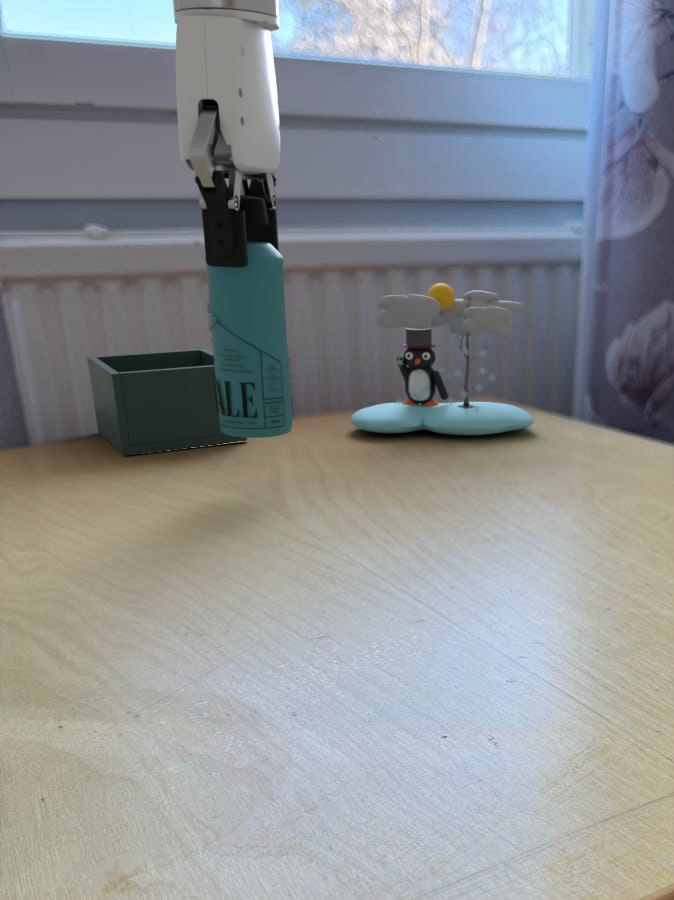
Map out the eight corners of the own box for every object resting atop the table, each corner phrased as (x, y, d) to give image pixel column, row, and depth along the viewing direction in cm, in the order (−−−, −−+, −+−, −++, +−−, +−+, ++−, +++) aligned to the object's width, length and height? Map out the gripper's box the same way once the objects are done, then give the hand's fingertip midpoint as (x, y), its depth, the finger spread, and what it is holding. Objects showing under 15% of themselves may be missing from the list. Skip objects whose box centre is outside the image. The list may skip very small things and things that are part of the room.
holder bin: (123, 456, 98) (111, 374, 95) (98, 432, 108) (86, 356, 105) (247, 442, 104) (240, 364, 101) (212, 420, 114) (205, 348, 111)
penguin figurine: (344, 439, 105) (336, 288, 99) (360, 418, 115) (354, 279, 109) (533, 442, 105) (537, 290, 98) (533, 421, 114) (537, 281, 108)
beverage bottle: (299, 439, 90) (287, 195, 81) (291, 456, 84) (277, 196, 75) (225, 438, 89) (206, 193, 81) (212, 456, 83) (189, 193, 75)
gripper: (221, 21, 81) (238, 256, 88) (122, -21, 65) (153, 269, 73) (310, 21, 80) (320, 258, 88) (232, -21, 65) (252, 273, 72)
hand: (244, 261), depth 80 cm, fingers closed on beverage bottle, 6 cm apart
